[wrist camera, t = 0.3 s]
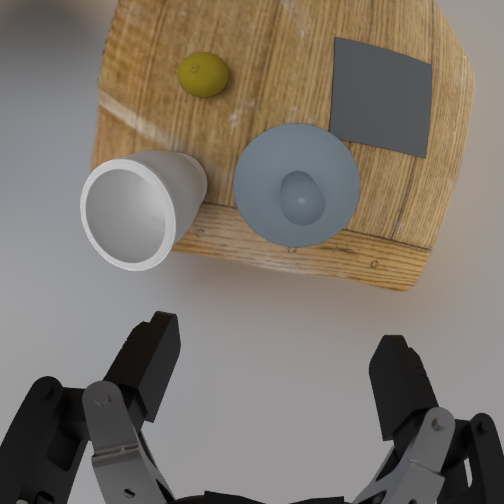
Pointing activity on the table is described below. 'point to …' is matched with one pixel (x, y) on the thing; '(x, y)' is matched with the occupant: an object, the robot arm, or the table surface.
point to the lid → (296, 185)
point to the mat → (380, 98)
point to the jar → (141, 206)
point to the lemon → (203, 74)
